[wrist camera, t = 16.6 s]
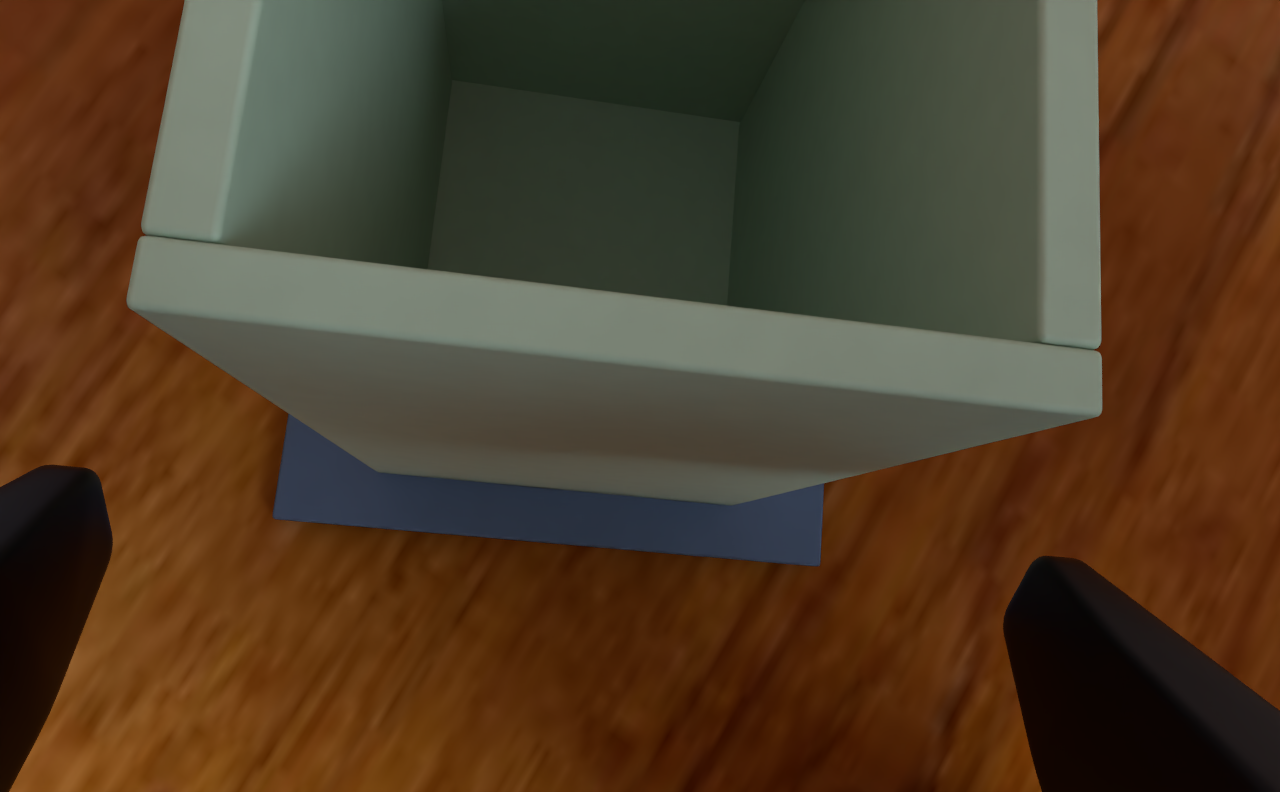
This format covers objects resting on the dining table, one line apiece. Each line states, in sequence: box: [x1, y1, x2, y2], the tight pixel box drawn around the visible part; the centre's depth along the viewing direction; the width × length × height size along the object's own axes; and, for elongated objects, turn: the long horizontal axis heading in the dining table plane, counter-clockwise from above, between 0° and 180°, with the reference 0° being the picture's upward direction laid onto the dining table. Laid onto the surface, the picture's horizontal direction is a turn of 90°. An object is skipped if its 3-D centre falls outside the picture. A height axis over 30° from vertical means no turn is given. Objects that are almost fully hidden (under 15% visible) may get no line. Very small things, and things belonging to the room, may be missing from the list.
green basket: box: [126, 0, 1102, 506], centre depth 12 cm, size 8×7×11 cm
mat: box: [273, 414, 824, 566], centre depth 18 cm, size 10×10×1 cm
